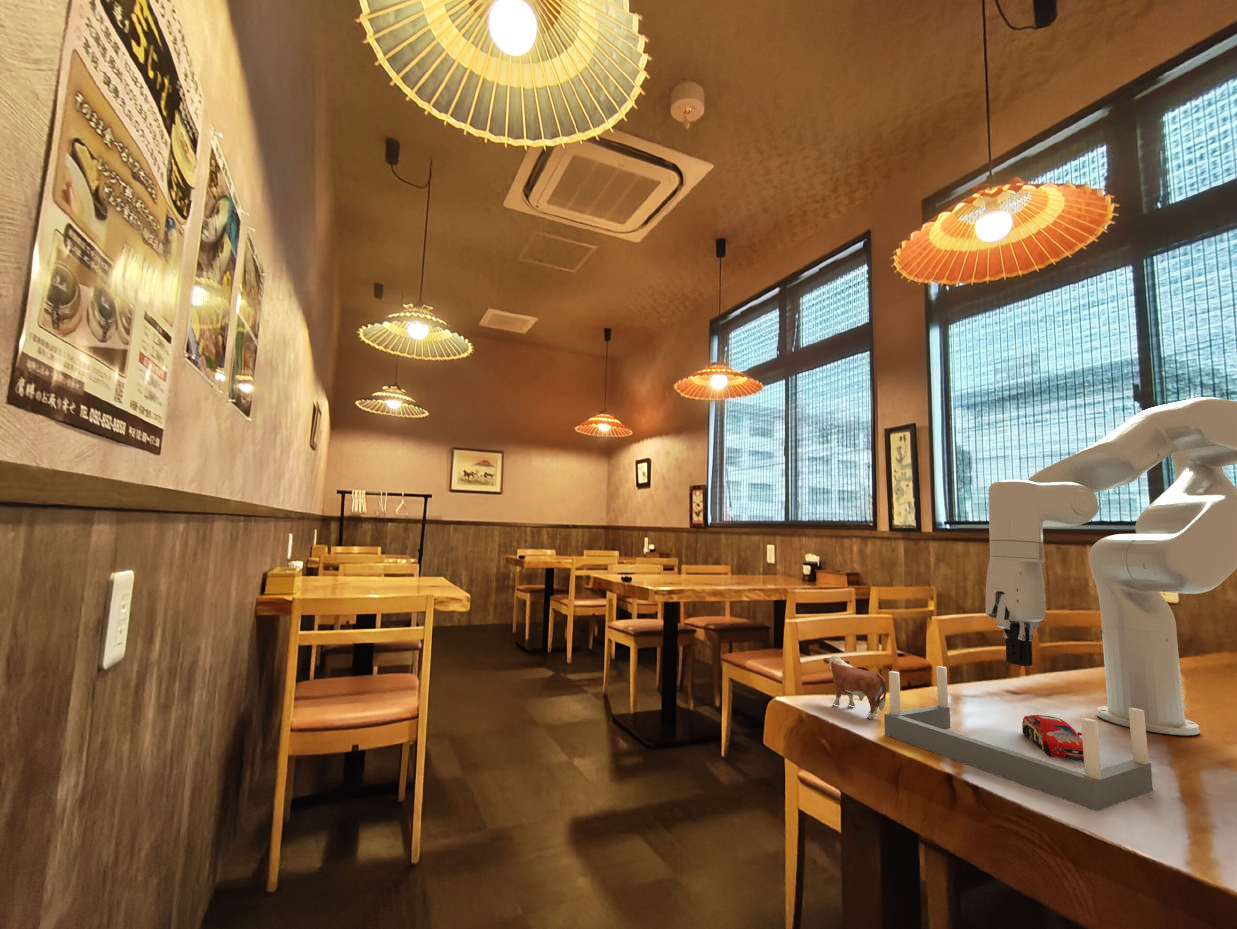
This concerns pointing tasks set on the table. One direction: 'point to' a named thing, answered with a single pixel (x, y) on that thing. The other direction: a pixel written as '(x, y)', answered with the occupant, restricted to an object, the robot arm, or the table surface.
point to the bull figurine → (857, 684)
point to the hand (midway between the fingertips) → (1019, 664)
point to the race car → (1054, 737)
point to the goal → (1055, 780)
